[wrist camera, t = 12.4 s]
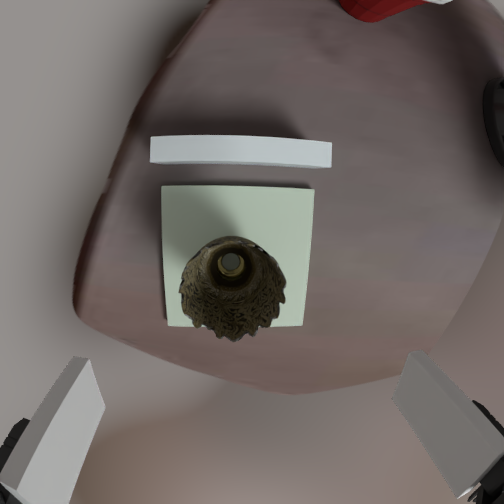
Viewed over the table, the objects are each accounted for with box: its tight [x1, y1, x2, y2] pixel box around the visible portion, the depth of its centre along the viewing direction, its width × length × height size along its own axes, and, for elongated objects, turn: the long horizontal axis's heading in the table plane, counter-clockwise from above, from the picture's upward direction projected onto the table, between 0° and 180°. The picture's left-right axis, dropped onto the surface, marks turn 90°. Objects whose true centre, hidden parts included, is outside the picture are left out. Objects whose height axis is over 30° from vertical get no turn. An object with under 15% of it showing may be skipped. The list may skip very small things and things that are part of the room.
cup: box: [178, 236, 287, 342], centre depth 23 cm, size 8×7×8 cm
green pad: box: [161, 185, 314, 327], centre depth 28 cm, size 14×14×1 cm
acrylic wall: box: [150, 135, 332, 168], centre depth 23 cm, size 14×2×5 cm, turn 88°
